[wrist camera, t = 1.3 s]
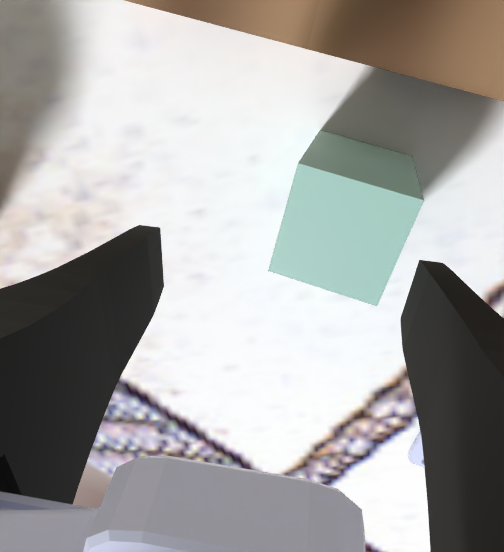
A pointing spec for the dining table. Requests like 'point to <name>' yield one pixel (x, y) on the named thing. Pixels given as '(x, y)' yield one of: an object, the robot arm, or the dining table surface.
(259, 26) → the well board
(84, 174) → the dining table surface
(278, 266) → the teal block
